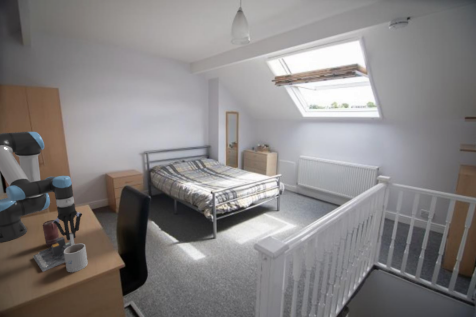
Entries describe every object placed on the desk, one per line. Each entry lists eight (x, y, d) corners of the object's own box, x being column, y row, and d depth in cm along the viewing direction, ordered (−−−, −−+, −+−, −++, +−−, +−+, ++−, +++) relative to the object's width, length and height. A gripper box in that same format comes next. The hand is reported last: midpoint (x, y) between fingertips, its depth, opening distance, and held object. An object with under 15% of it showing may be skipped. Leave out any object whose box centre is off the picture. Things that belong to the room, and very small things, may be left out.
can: (52, 247, 125) (48, 225, 122) (43, 246, 126) (39, 224, 123) (62, 241, 130) (59, 220, 128) (54, 240, 132) (50, 219, 129)
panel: (33, 258, 116) (32, 254, 115) (69, 244, 128) (69, 240, 128) (42, 271, 106) (41, 267, 105) (81, 255, 118) (80, 251, 118)
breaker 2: (64, 254, 116) (62, 246, 115) (70, 252, 118) (69, 243, 117) (66, 256, 114) (64, 248, 113) (72, 254, 117) (71, 245, 116)
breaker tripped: (52, 254, 116) (51, 245, 115) (59, 251, 119) (58, 242, 118) (54, 256, 115) (52, 247, 114) (61, 253, 117) (59, 244, 116)
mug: (89, 265, 110) (87, 248, 108) (69, 274, 104) (65, 256, 102) (83, 255, 118) (80, 238, 116) (63, 263, 112) (60, 245, 110)
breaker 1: (57, 247, 122) (56, 239, 121) (64, 244, 125) (62, 236, 124) (59, 249, 121) (57, 241, 120) (65, 246, 123) (64, 238, 122)
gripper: (52, 210, 110) (60, 252, 114) (82, 202, 120) (88, 241, 125) (48, 207, 114) (55, 247, 119) (77, 199, 124) (83, 236, 129)
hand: (72, 244), depth 122 cm, fingers closed
